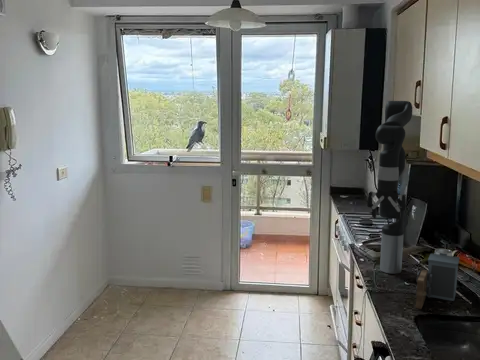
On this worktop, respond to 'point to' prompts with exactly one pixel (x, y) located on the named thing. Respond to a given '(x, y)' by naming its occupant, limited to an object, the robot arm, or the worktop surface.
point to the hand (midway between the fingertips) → (385, 219)
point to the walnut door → (421, 289)
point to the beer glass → (443, 252)
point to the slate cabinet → (441, 276)
